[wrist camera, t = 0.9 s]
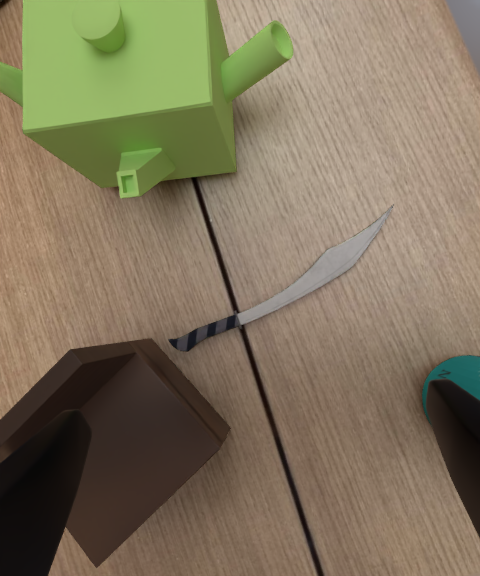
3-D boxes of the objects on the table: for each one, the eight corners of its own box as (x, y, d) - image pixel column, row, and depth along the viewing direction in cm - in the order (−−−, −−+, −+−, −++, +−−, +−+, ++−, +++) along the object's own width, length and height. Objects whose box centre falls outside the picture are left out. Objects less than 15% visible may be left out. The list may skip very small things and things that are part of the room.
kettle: (52, 150, 29) (-91, 47, 18) (157, 18, 29) (76, -167, 18) (182, 258, 27) (108, 213, 16) (298, 114, 27) (305, -33, 16)
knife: (186, 366, 26) (182, 368, 25) (170, 338, 27) (166, 339, 26) (413, 231, 25) (418, 228, 24) (393, 203, 25) (397, 199, 24)
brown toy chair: (231, 428, 25) (193, 497, 15) (125, 530, 26) (23, 661, 16) (151, 338, 27) (70, 349, 17) (52, 436, 27) (-83, 502, 17)
